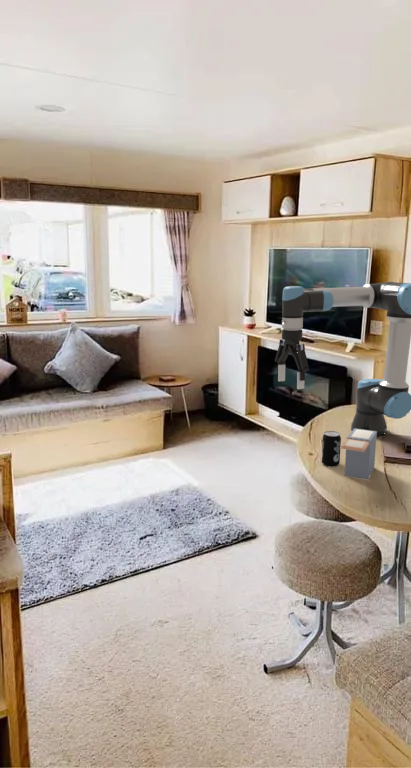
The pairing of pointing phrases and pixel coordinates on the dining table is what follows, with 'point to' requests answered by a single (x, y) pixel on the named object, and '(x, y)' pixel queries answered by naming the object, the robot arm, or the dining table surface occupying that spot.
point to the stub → (355, 445)
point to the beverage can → (331, 448)
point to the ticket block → (361, 455)
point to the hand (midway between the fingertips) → (290, 384)
